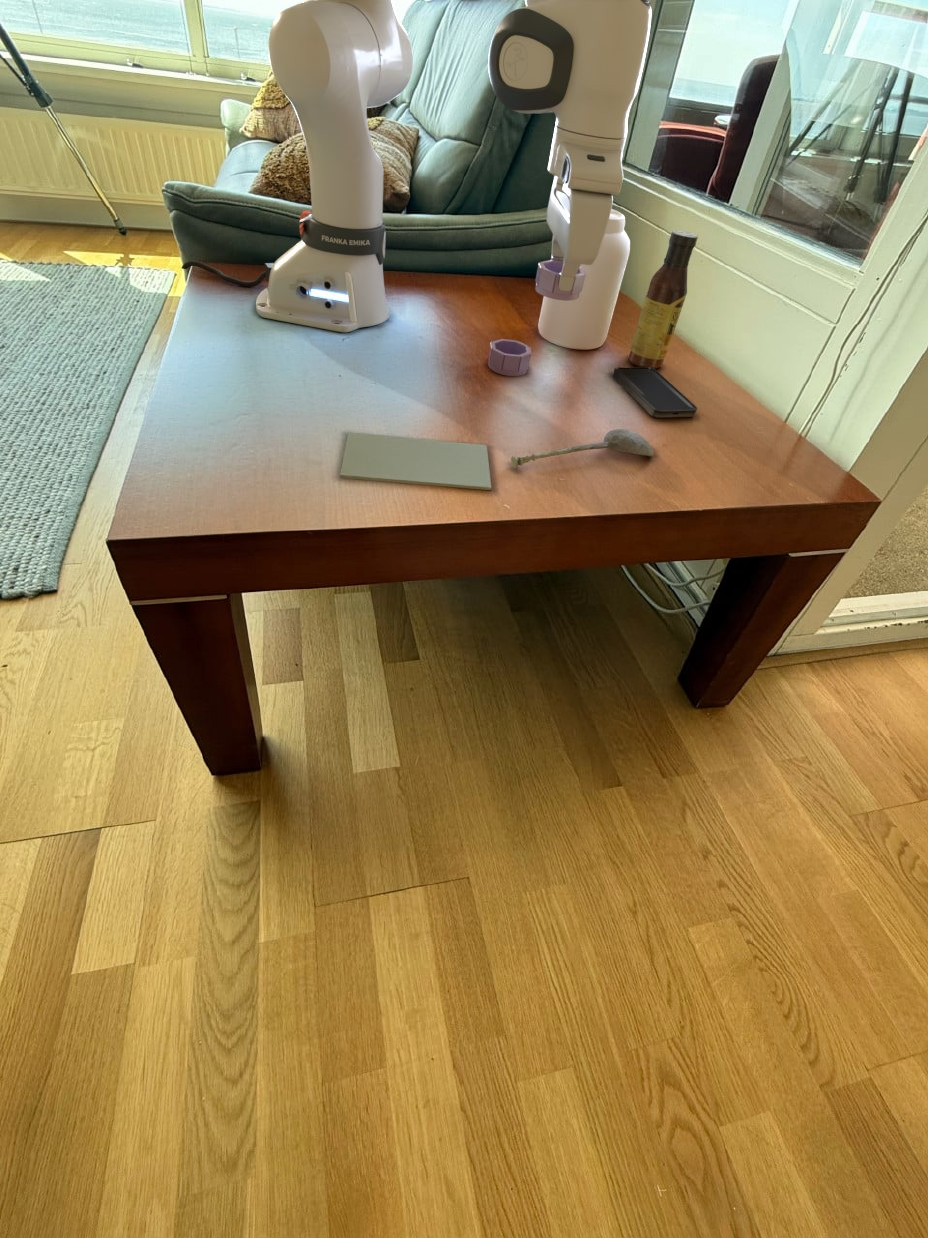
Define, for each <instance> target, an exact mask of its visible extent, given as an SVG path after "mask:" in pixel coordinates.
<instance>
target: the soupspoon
mask: <svg viewBox="0 0 928 1238" xmlns="http://www.w3.org/2000/svg"><path fill="white" fill-rule="evenodd" d="M601 449H609V450H612V451H618V452H621V453H627V454H632V455H639V456H646V457H647V456H648V457H654V456H655V452H654V450H653V448H652V446H651V444H650V443H649V442H648V441H647V440H646V439H645V438H644V437H642V435H640V434H639V433H636V432H635V431H632V430H630V429H629V430H628V429H625V428H624V429H622V428H618V429H617V428H616V429H612V430H609V431H607V432H605V435H604V436H603V442H596V443H595V442H594V443H587V444H581V445H576V446H571V447H566V448H562V449H561V448H560V449H556V450H551V451H546V452H542V453H537V454H535V453H531V454H530V455H524V456H523V455H522V456H517V458H516V457H515V456H514V455H512V456H511V457H510V462H511V465H512V468H513V469H514V470H518V466H523V464H526V463H529V462H531V461H533V462H535V461H536V460H539V459H544V458H549V457H555V456H561V455H566V454H572V453H576V452H583V451H591V450H601Z"/></svg>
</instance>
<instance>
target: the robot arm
mask: <svg viewBox="0 0 928 1238" xmlns="http://www.w3.org/2000/svg"><path fill="white" fill-rule="evenodd" d="M524 2H525V6H523V7H519V8H516V9H513V10H512V11H510V12H509V13H508V14H507V15H505V16H504V17H503V18H502V19H501V20H500V22H499V23H498V25H497V27H496V28H495V31H494V32H493V35H492V38H491V41H490V45H489V51H488V59H487V61H488V62H487V63H488V64H487V66H488V67H487V68H488V77H489V82H490V85H491V88H492V91H493V92H494V94H495V97H496V98H497V99H498V100H499V102H500V104H502V105H503V106H504V107H506V108H508V110H509V109H510V110H512V111H514V112H516V113H519V114H528V115H529V114H536V115H537V114H539V115H540V114H553V115H555V126H554V130H553V136H552V142H551V148H550V153H549V159H548V165H547V172H548V173H549V174H551V175H553V182H552V186H551V190H550V195H549V198H548V203H547V209H546V224H547V225H548V227H549V230H550V231H551V233H552V238H551V257H550V261H551V260H555V261H563V262H564V263H563V267H562V271H561V273H560V275H559V280H558V286H559V289H560V290H563V291H570V290H571V289H572V286H573V282H574V278H575V276H576V274H577V272H578V270H579V267H580V265H581V264H584V265H591V264H593V262H594V261H595V259H596V257H597V255H598V253H599V250H600V247H601V244H602V240H603V237H604V234H605V230H606V227H607V224H608V220H609V217H610V213H611V209H613V204H614V203H613V202H614V196H613V195H616V196H618V195H619V194H620V193H621V190H622V186H623V183H624V182H623V181H624V169H623V163H622V162H623V159H624V150H625V145H626V143H627V142H626V141H627V137H628V132H629V131H628V130H629V124H628V123H629V115H630V110H631V108H632V105H633V103H634V100H635V98H636V96H637V95H638V91H639V89H640V88H639V87H640V84H641V79H642V74H643V70H644V66H645V60H646V55H647V50H648V45H649V39H650V32H651V24H652V3H651V1H650V0H524ZM270 27H271V28H270V31H269V37H268V57H269V64H270V68H271V71H272V75H273V77H274V79H275V81H276V84H277V86H278V87H279V89H280V91H281V92H282V93H283V95H285V97H286V98H287V99H288V100H289V102H290V104H291V105H292V107H293V109H294V111H295V114H296V116H297V119H298V122H299V125H300V129H301V132H302V136H303V139H304V144H305V148H306V154H307V159H308V160H307V161H308V168H309V169H308V170H309V184H310V199H311V200H310V201H311V202H310V203H311V211H310V210H308V209H307V210H306V209H305V210H303V211H302V213H300V216H299V237H300V239H301V240H300V241H298V242H297V243H296V244H295V245H293V246H292V247H291V248H289V249H288V250H287V251H286V252H285V253H283V254H282V255H281V256H280V257H278V258H277V259H276V260H275V261H274V262H265V263H264V271H263V272H262V273H260V275H259V276H258V277H257V279H255V280H252V281H244V280H240V279H237V278H235V277H232V276H228V275H226V274H224V273H223V272H222V271H221V270H219V269H217V268H214V267H212V266H210V265H207V264H205V263H202V262H200V261H197V260H189V261H186V262H185V263H184V264H182V266H181V268H180V269H182V270H187V269H189V268H190V267H196V268H197V267H198V268H199V269H202V270H205V271H207V272H209V273H212V274H215V275H216V276H218V277H219V278H221V280H224V281H225V282H229V283H232V284H234V285H237V286H240V287H244V288H253V287H257V286H259V285H260V284H261V283H262V282H263V281H264V280H266V282H267V283H268V287H266V288H264V289H263V290H261V292H260V293H259V294H258V295H257V297H256V300H255V310H256V313H257V314H258V315H259V316H260V317H262V318H266V319H270V320H274V321H281V322H286V323H291V324H295V325H296V324H297V325H302V326H307V327H312V328H317V329H323V330H328V331H333V332H338V333H350V332H353V331H355V330H358V329H360V328H361V329H362V328H367V327H374V326H377V325H380V324H382V323H384V322H386V321H387V320H388V319H389V318H390V316H391V315H390V310H389V305H388V301H387V296H386V288H385V287H386V286H385V279H384V262H385V258H386V233H387V232H386V224H385V222H384V221H383V216H384V215H383V214H384V211H383V210H384V174H385V173H384V172H385V171H384V164H383V161H382V159H381V157H380V156H379V154H378V153H377V152H376V150H375V148H374V145H373V142H372V138H371V134H370V129H369V123H368V122H369V121H368V116H367V109H369V108H377V107H382V106H384V105H386V104H388V103H389V102H391V101H393V100H394V99H396V97H399V95H401V94H402V93H403V92H404V90H405V89H406V88H407V86H408V84H409V83H410V80H411V76H412V73H413V67H414V55H413V53H414V52H413V48H412V43H411V40H410V37H409V34H408V32H407V31H406V29H405V27H404V26H403V24H402V23H401V21H400V19H399V16H398V15H397V12H396V9H395V6H394V3H393V0H305V1H302V2H299V3H296V4H294V5H291V6H290V7H288V8H285V9H284V10H282V11H280V13H279V14H278V15H277V16H276V17H275V19H274V20H273V22H272V24H271V26H270Z"/></svg>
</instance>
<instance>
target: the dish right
mask: <svg viewBox="0 0 928 1238" xmlns="http://www.w3.org/2000/svg"><path fill="white" fill-rule="evenodd" d="M563 263H564V262H563V261H555V260H551V259H548V260H544V261H539V262H538V263H537V269H536V275H535V280H534V281H535V287H534V290H535V292H536V293H537V294H539V295H541V296H542V297H544V296H545V297H548V298H551V299H556V300H564V301H569V300H575V299H578V298H579V295H580V292H582V288H583V284H584V280H585V275H586V273H585V271H584V269H583V268H582V267H579V270H578V272H577V274H576V276H575V278H574V282H573V286H572V289H571V290H570V291H563V290H560V289H559V286H558V280H559V275H560V273H561V271H562V267H563Z"/></svg>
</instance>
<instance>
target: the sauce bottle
mask: <svg viewBox="0 0 928 1238" xmlns="http://www.w3.org/2000/svg"><path fill="white" fill-rule="evenodd" d="M697 241H698V235H697V234H695V233H692V232H690V231H684V230H673V231H672V232H671V233H670V236H669V239H668V248H667V251H666V255H665V257H664V259H663V264H662V266H661V267H660V268H659V269H657V271H656V272H655V273H654V274H653V276H652V277H651V279H650V282H649V286H648V290H647V293H646V295H645V297H644V300H643V304H642V306H641V310H640V314H639V317H638V320H637V323H636V329H635V331H634V334H633V338H632V342H631V345H630V347H629V350H630V352H629V354H628V360H629V362H630V363H631V364H633V365H634V366H637V367H649V368H653V369H658V368H661V367H662V365H663V363H664V360H665V359H666V357H667V354H668V351H669V348H670V346H671V342H672V339H673V336H674V333H675V330H676V328H677V325H678V322H679V320H680V319H679V318H680V316H681V313H682V309H683V306H684V304H685V301H686V297H687V294H688V270H689V269H688V267H689V264H690V260H691V256H692V253H693V250H694V248H695V247H696V245H697Z"/></svg>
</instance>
